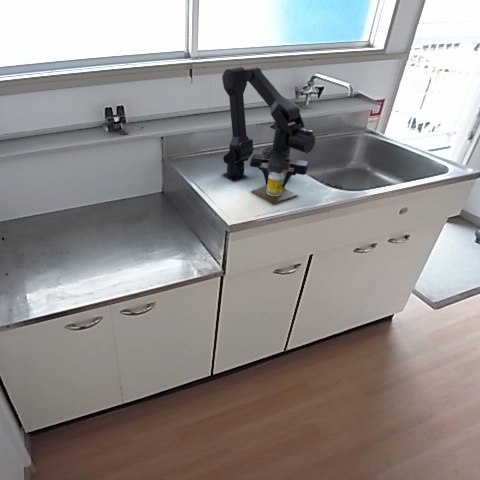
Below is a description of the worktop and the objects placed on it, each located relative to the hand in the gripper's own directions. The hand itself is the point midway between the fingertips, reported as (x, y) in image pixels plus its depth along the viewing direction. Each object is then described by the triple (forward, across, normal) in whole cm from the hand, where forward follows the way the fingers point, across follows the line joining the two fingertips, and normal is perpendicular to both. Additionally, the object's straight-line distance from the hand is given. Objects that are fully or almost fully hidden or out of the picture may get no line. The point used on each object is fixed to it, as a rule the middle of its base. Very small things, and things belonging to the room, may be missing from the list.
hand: (275, 186), depth 139 cm
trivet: (+3, 0, 0) cm, 3 cm away
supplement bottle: (+3, 0, 0) cm, 3 cm away
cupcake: (+3, 0, +13) cm, 14 cm away
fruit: (+3, -7, +28) cm, 29 cm away
